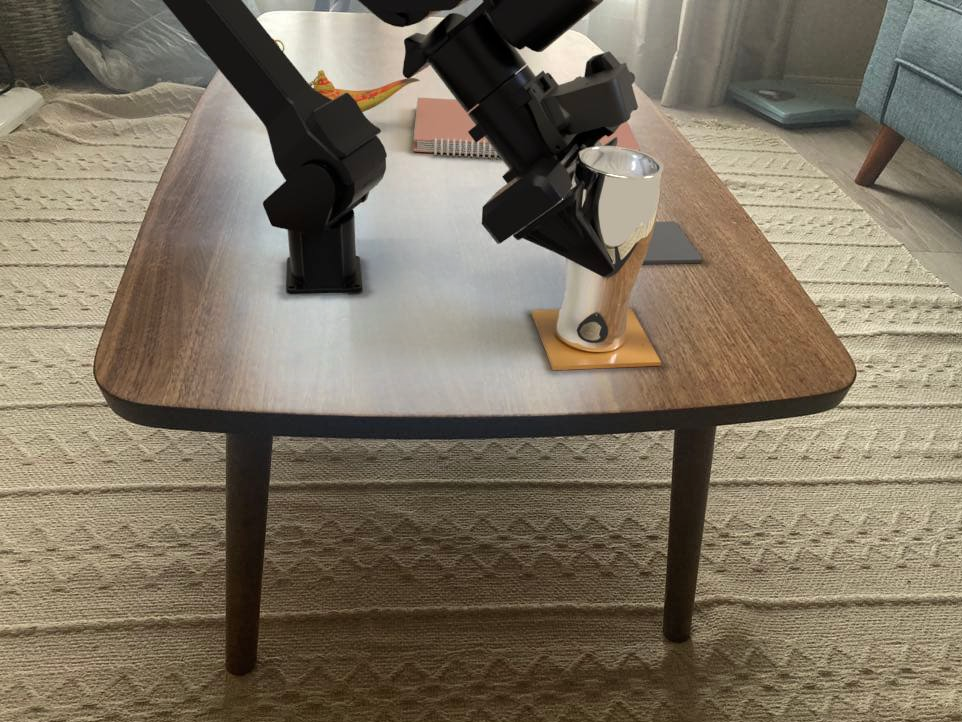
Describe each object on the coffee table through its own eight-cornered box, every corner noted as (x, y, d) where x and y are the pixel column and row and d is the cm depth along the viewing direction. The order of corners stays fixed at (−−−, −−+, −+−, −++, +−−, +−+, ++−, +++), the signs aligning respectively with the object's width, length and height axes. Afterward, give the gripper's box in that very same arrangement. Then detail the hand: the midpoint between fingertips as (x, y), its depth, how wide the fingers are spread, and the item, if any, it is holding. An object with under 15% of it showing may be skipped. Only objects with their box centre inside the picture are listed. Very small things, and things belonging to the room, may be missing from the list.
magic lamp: (421, 143, 113) (422, 50, 107) (268, 141, 110) (259, 44, 103) (417, 124, 119) (418, 34, 112) (271, 122, 115) (263, 28, 109)
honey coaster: (660, 365, 76) (661, 361, 75) (552, 370, 74) (553, 366, 74) (630, 311, 83) (630, 307, 83) (531, 314, 81) (531, 310, 81)
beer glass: (531, 326, 78) (555, 152, 69) (589, 305, 82) (618, 139, 74) (590, 364, 74) (623, 185, 65) (648, 340, 78) (685, 169, 70)
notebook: (413, 156, 110) (413, 139, 108) (417, 110, 123) (417, 95, 122) (640, 167, 112) (642, 151, 111) (619, 121, 126) (621, 106, 125)
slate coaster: (702, 263, 92) (702, 259, 92) (614, 264, 90) (615, 261, 90) (674, 224, 99) (674, 221, 99) (592, 225, 97) (592, 222, 97)
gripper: (539, 52, 58) (683, 251, 62) (610, -3, 72) (722, 161, 77) (419, 151, 64) (557, 327, 68) (508, 82, 78) (616, 230, 83)
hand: (620, 255), depth 74 cm, fingers closed on beer glass, 7 cm apart
